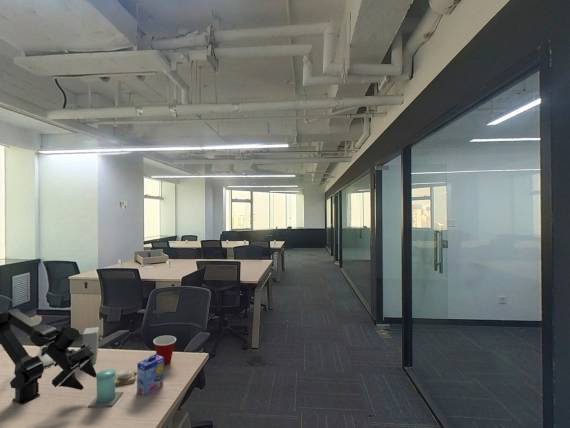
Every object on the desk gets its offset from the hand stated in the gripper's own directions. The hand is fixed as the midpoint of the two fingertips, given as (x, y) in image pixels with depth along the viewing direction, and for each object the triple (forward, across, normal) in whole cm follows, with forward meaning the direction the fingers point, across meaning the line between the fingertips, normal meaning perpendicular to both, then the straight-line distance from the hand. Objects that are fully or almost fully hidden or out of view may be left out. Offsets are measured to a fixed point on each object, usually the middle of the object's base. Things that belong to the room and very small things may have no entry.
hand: (89, 382), depth 123 cm
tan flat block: (+10, +15, 0) cm, 18 cm away
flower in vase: (-23, +32, +35) cm, 53 cm away
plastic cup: (+19, +30, -9) cm, 37 cm away
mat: (+10, 0, 0) cm, 10 cm away
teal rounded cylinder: (+9, 0, 0) cm, 9 cm away
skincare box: (-8, +35, +19) cm, 40 cm away
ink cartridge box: (+20, +7, -10) cm, 24 cm away
